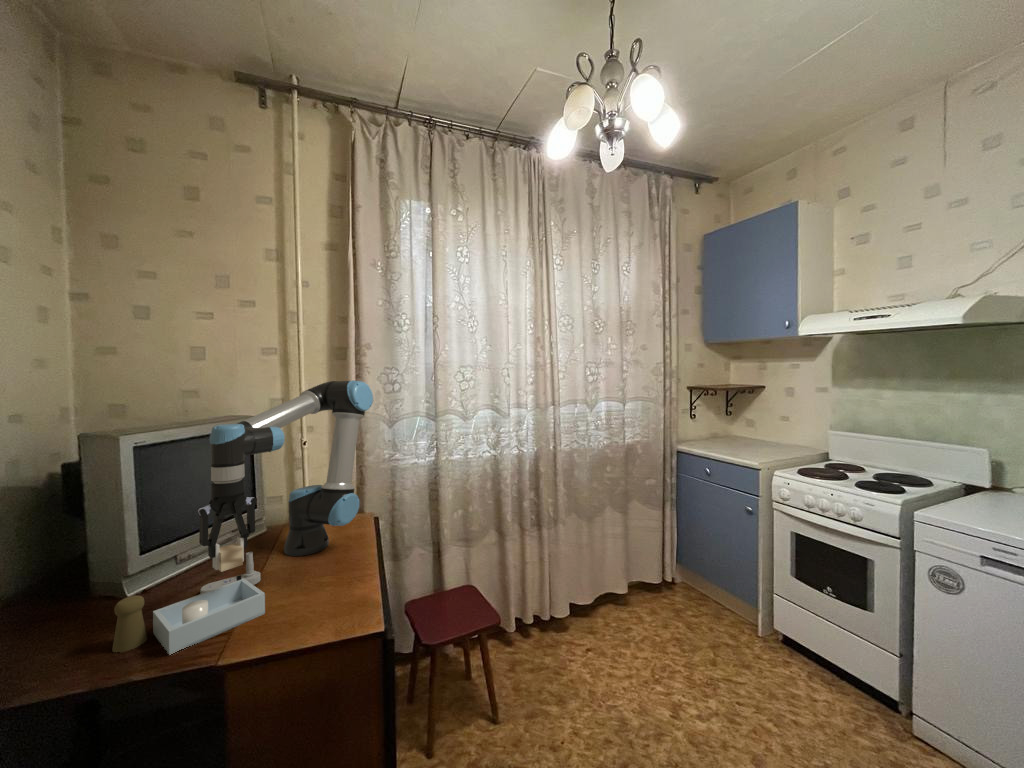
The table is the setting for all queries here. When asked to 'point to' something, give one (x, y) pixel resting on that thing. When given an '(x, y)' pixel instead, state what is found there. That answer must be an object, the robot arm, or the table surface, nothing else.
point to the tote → (208, 615)
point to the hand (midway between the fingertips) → (228, 564)
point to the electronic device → (249, 576)
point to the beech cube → (230, 556)
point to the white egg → (194, 610)
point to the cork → (129, 624)
